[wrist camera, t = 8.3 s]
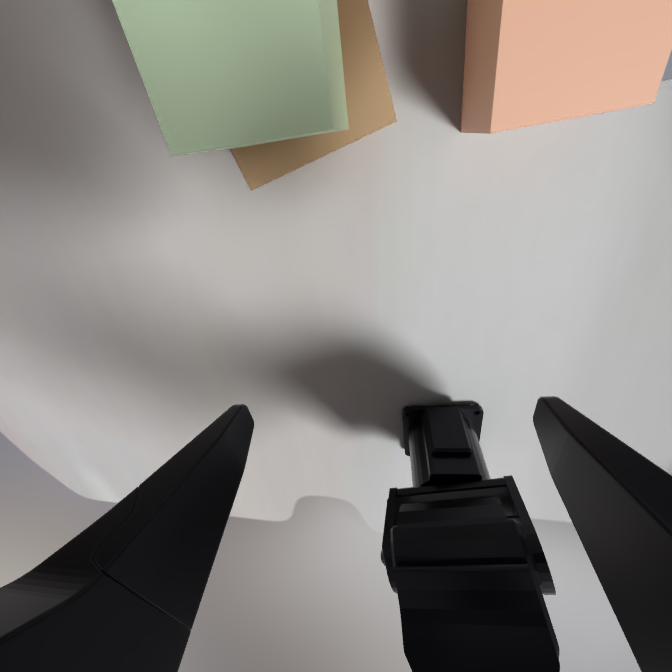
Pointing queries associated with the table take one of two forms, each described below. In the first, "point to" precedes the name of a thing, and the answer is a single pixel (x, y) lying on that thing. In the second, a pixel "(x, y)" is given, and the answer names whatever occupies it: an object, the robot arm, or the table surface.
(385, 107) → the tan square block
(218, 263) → the table surface
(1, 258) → the table surface
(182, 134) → the sage block
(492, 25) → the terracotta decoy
